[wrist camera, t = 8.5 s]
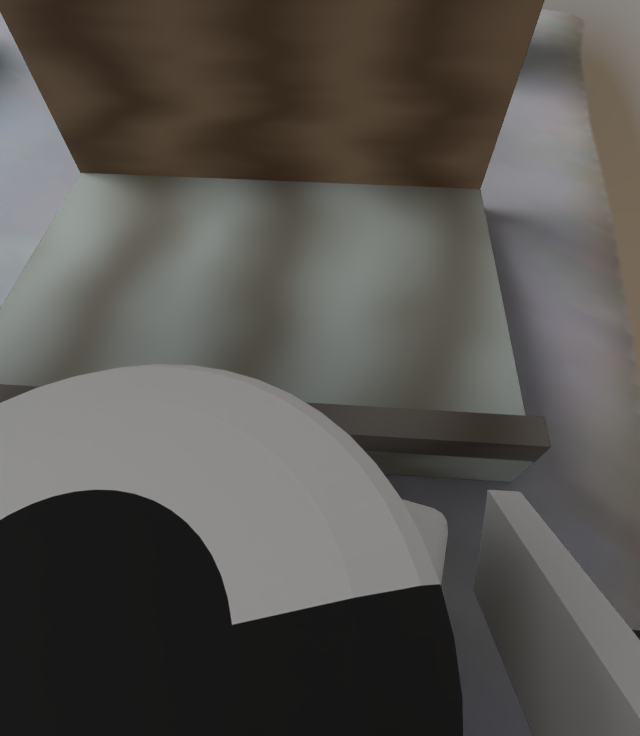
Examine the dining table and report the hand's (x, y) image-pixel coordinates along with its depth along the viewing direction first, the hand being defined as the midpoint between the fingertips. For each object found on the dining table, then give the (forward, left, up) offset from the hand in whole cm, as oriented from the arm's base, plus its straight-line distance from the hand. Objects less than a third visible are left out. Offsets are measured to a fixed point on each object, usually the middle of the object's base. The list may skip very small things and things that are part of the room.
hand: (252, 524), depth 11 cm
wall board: (+4, +10, -4) cm, 11 cm away
